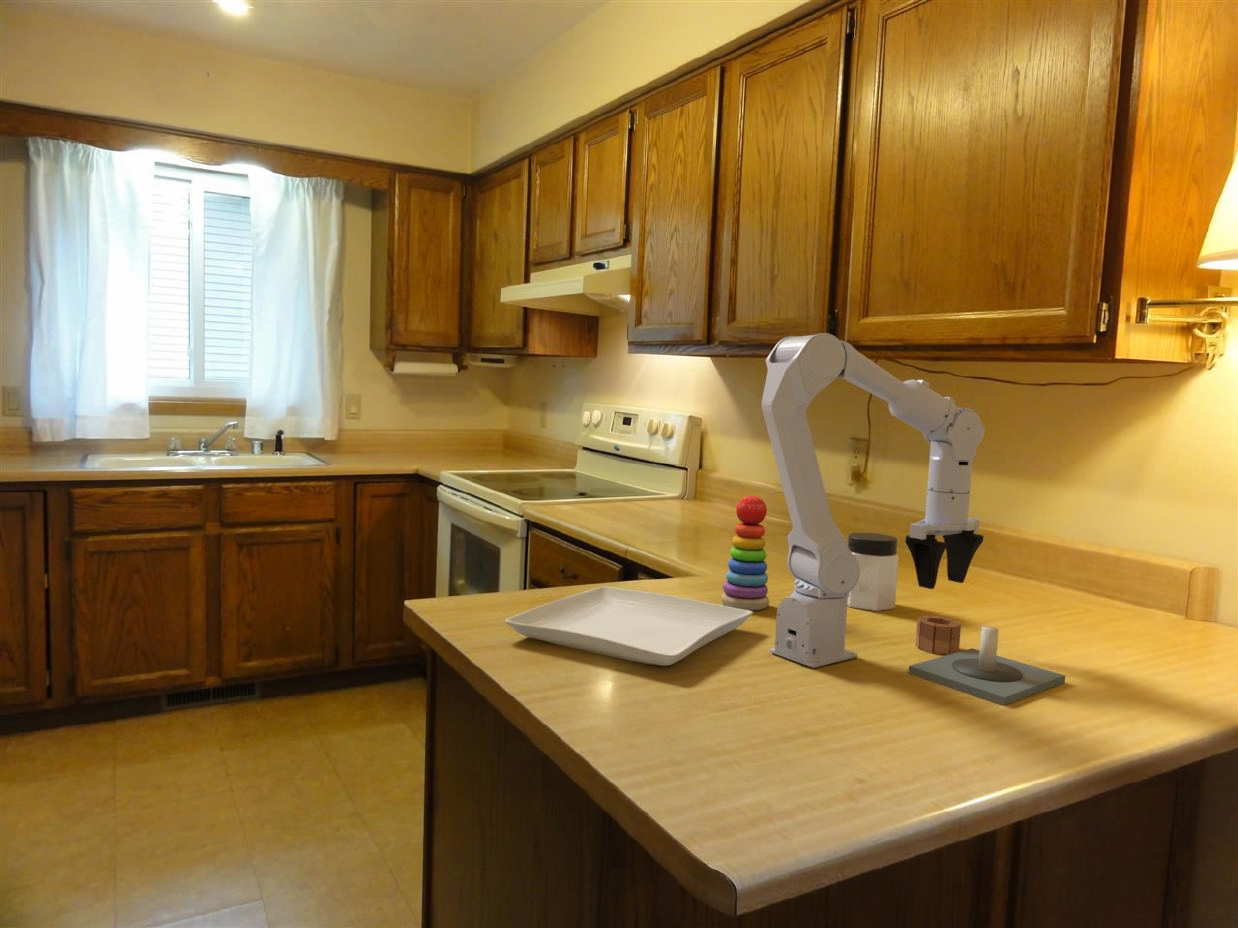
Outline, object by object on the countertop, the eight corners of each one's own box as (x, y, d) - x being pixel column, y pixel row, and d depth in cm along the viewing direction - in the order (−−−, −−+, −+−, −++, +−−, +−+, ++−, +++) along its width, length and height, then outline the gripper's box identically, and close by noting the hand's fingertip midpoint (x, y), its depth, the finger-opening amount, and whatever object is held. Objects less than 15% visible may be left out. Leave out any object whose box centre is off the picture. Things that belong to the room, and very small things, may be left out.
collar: (943, 656, 118) (945, 628, 118) (908, 645, 123) (910, 619, 122) (965, 650, 122) (967, 623, 121) (930, 640, 126) (932, 614, 126)
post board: (1003, 705, 100) (1008, 651, 100) (908, 673, 111) (912, 624, 110) (1064, 682, 109) (1069, 633, 109) (971, 655, 120) (975, 609, 119)
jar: (836, 605, 145) (840, 536, 144) (848, 596, 152) (852, 530, 151) (889, 614, 140) (894, 543, 139) (899, 604, 148) (904, 536, 146)
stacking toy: (768, 614, 138) (774, 500, 136) (719, 609, 139) (724, 497, 137) (769, 602, 145) (775, 494, 144) (723, 598, 147) (728, 491, 145)
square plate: (754, 633, 128) (755, 608, 127) (672, 684, 104) (674, 653, 104) (602, 603, 141) (603, 581, 141) (500, 643, 118) (500, 616, 118)
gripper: (945, 496, 113) (938, 596, 114) (1001, 492, 122) (994, 584, 123) (899, 490, 118) (893, 585, 120) (956, 486, 127) (949, 574, 128)
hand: (941, 584), depth 122 cm, fingers open, 7 cm apart
